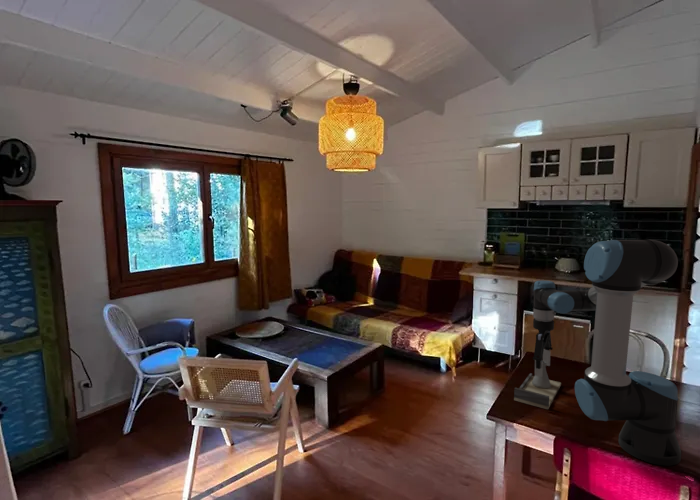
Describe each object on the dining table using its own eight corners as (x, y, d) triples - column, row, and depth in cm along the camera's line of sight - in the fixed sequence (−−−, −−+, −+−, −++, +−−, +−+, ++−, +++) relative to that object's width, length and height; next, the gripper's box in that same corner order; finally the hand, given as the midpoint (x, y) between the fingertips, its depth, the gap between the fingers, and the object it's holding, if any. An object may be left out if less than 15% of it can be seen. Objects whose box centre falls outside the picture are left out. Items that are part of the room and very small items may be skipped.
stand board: (548, 409, 144) (548, 397, 143) (514, 400, 151) (514, 388, 151) (560, 385, 163) (561, 374, 162) (530, 378, 170) (530, 367, 170)
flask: (547, 381, 164) (548, 358, 163) (554, 389, 157) (555, 365, 156) (529, 380, 165) (529, 358, 164) (535, 388, 158) (536, 365, 156)
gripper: (546, 328, 146) (545, 383, 147) (560, 313, 165) (558, 362, 167) (525, 324, 150) (524, 378, 152) (540, 311, 170) (539, 359, 172)
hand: (542, 370), depth 160 cm, fingers open, 13 cm apart
